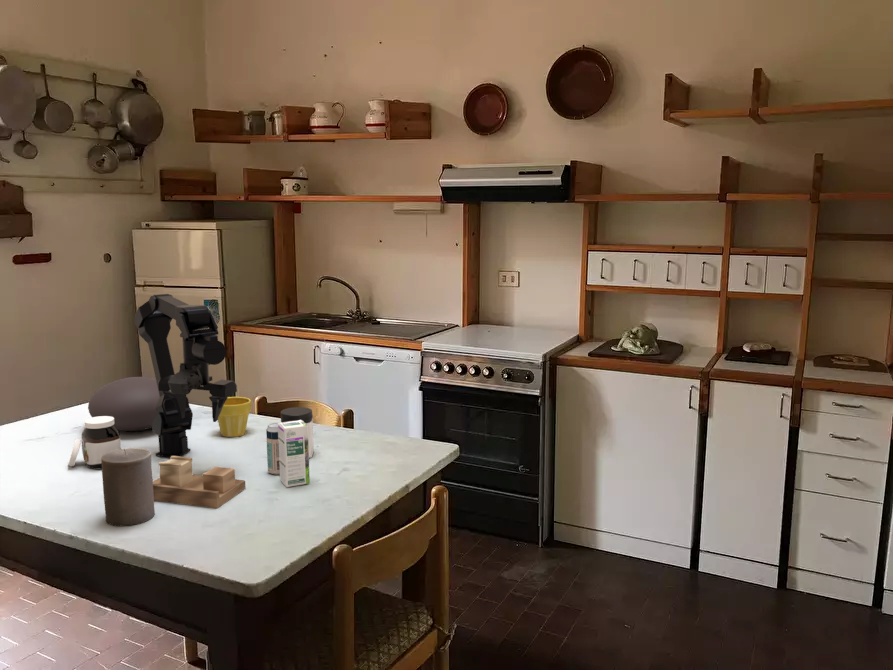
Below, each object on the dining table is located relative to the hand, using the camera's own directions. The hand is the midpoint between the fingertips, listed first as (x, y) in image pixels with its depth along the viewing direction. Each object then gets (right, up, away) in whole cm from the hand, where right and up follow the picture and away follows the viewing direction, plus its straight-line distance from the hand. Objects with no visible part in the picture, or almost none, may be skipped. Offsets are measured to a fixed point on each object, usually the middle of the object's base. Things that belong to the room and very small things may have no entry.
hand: (198, 419), depth 186 cm
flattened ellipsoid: (-30, -7, +36) cm, 48 cm away
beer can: (+19, -13, +1) cm, 23 cm away
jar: (+22, -11, +13) cm, 28 cm away
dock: (+3, -15, -13) cm, 20 cm away
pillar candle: (-6, -18, -26) cm, 32 cm away
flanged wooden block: (-1, -13, -13) cm, 18 cm away
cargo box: (+10, -14, -15) cm, 23 cm away
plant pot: (0, -8, +32) cm, 32 cm away
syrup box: (+25, -14, -6) cm, 29 cm away
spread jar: (-28, -12, +5) cm, 31 cm away
